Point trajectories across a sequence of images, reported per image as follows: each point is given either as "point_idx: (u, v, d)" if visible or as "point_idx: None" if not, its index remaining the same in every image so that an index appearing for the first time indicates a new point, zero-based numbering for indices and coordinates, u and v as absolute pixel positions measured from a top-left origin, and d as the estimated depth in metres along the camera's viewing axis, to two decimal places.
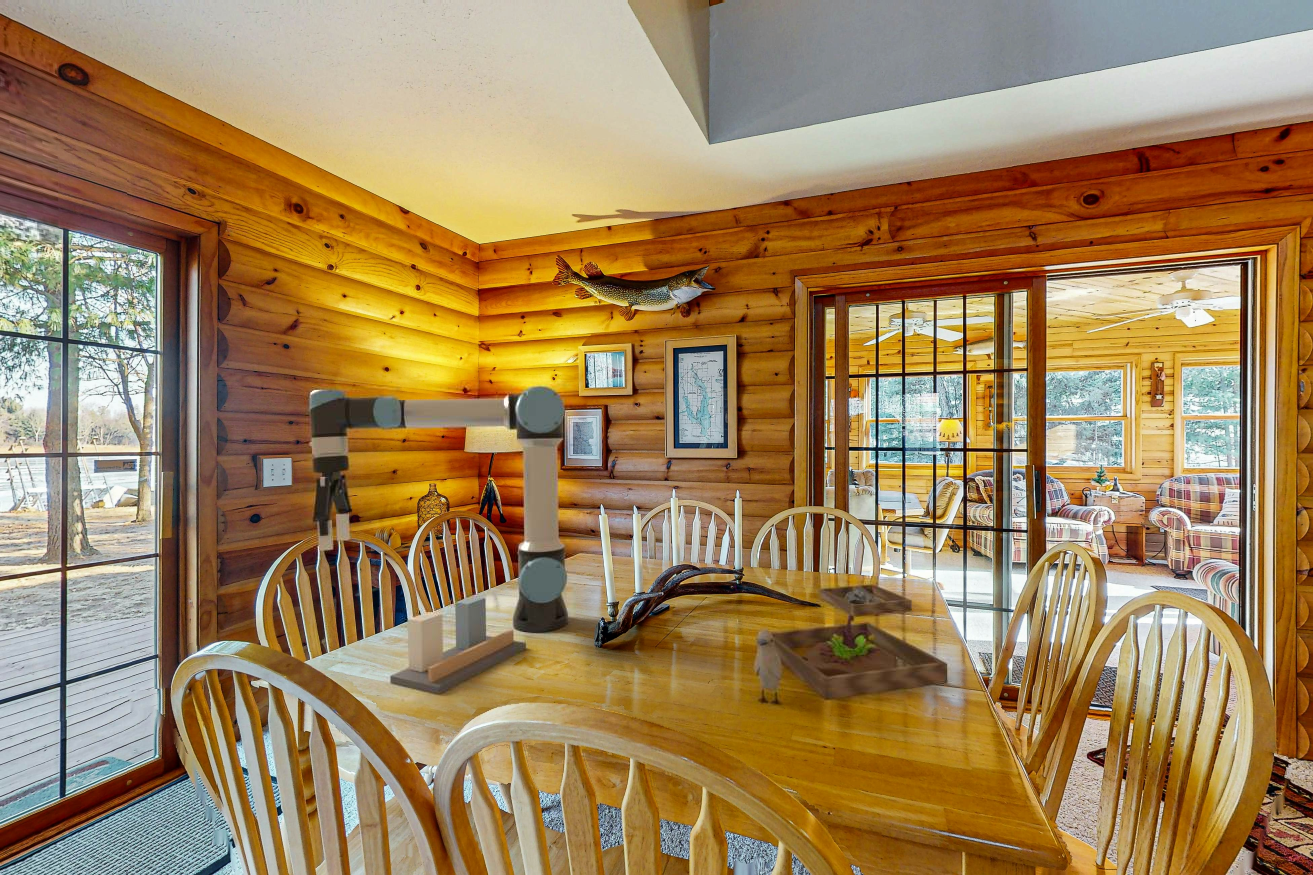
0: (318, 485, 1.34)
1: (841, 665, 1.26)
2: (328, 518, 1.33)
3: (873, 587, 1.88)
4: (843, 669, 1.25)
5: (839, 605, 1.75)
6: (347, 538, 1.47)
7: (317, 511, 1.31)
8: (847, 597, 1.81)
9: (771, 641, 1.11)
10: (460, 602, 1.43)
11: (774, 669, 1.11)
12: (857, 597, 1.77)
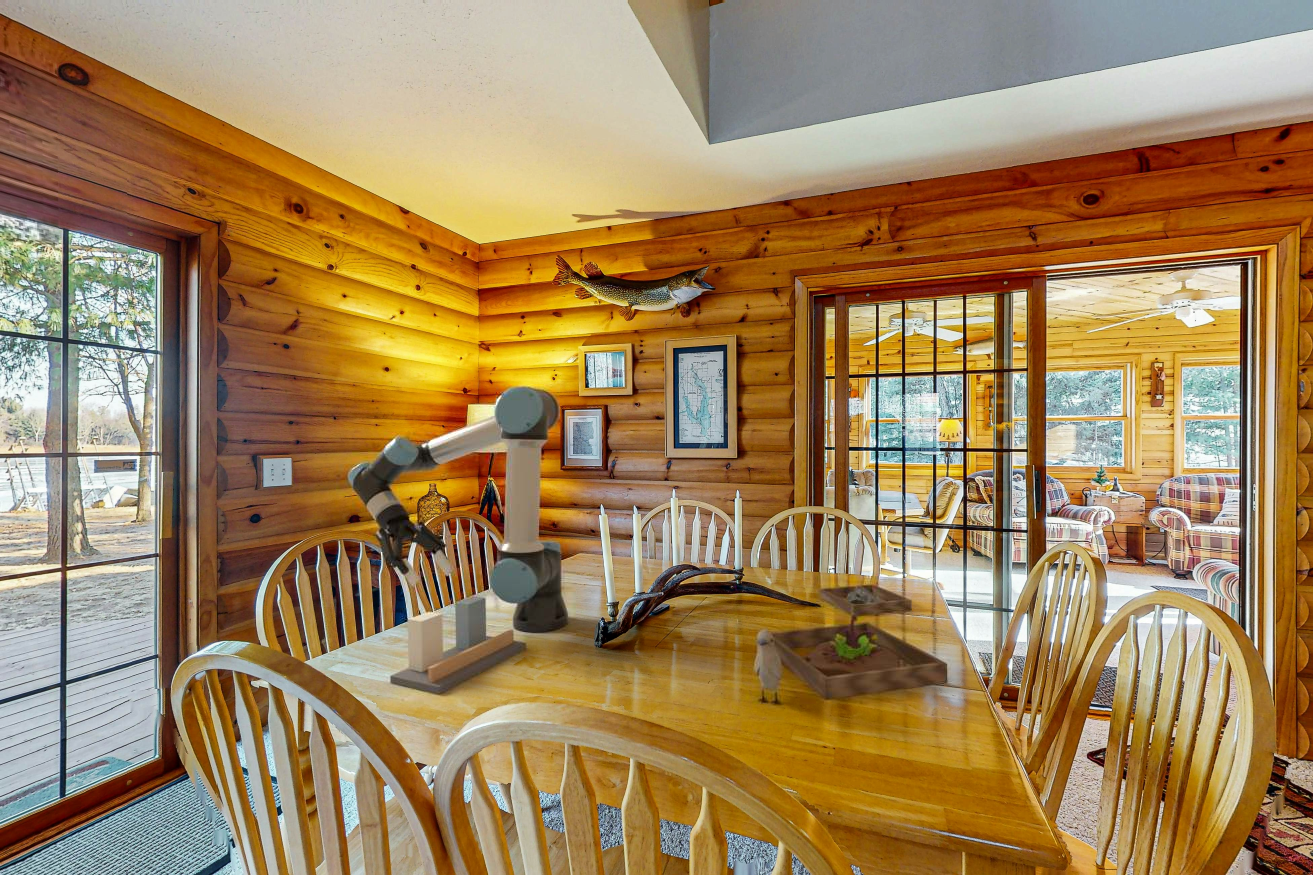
0: (379, 539, 1.48)
1: (845, 665, 1.26)
2: (399, 557, 1.45)
3: (873, 587, 1.88)
4: (847, 669, 1.25)
5: (839, 605, 1.75)
6: (450, 569, 1.54)
7: (385, 557, 1.45)
8: (849, 597, 1.81)
9: (771, 641, 1.11)
10: (460, 602, 1.43)
11: (774, 669, 1.11)
12: (859, 597, 1.77)
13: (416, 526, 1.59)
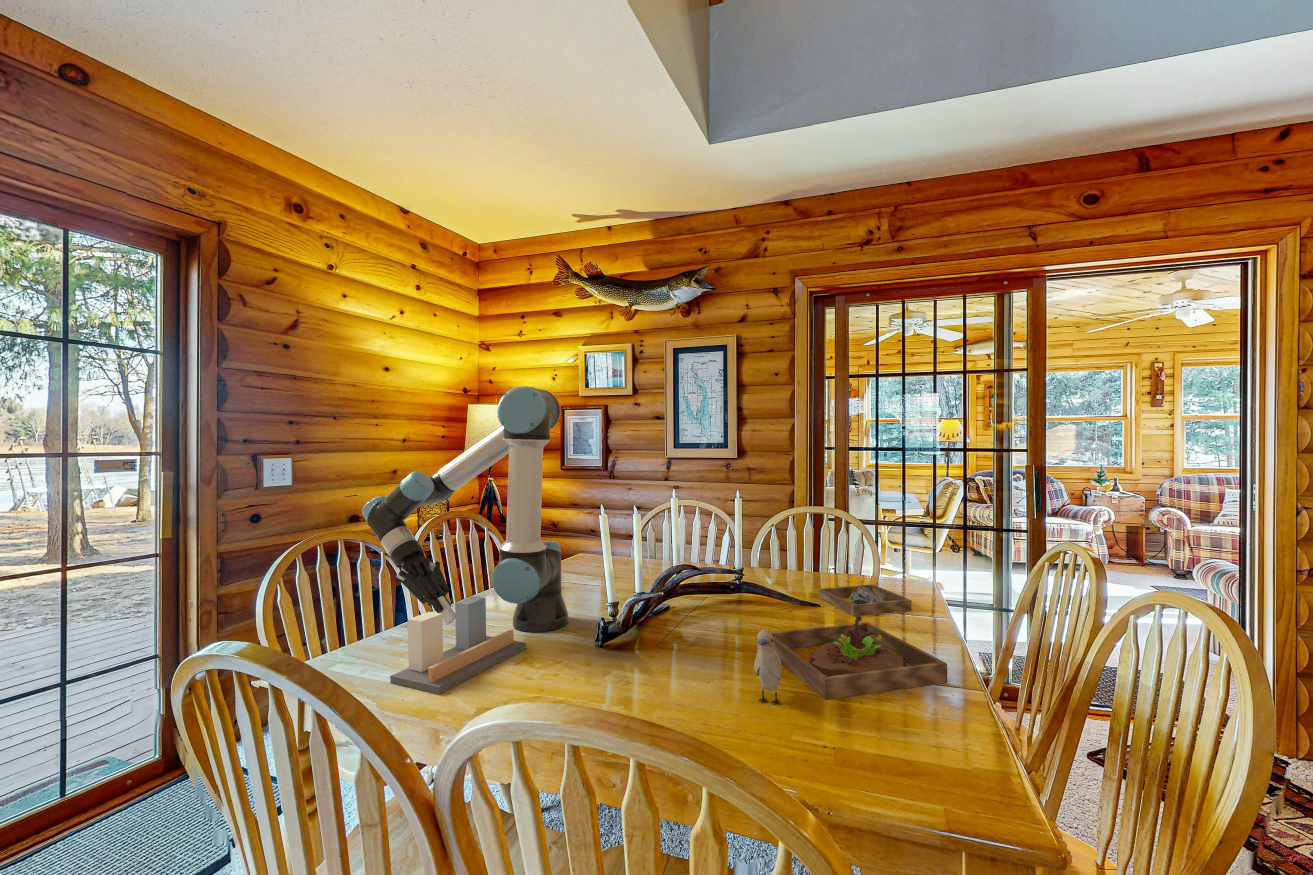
0: (401, 581, 1.47)
1: (848, 665, 1.26)
2: (435, 597, 1.47)
3: (873, 587, 1.88)
4: (851, 669, 1.24)
5: (839, 605, 1.75)
6: None
7: (420, 598, 1.46)
8: (851, 597, 1.81)
9: (771, 641, 1.11)
10: (460, 602, 1.43)
11: (774, 669, 1.11)
12: (861, 597, 1.77)
13: (431, 564, 1.56)
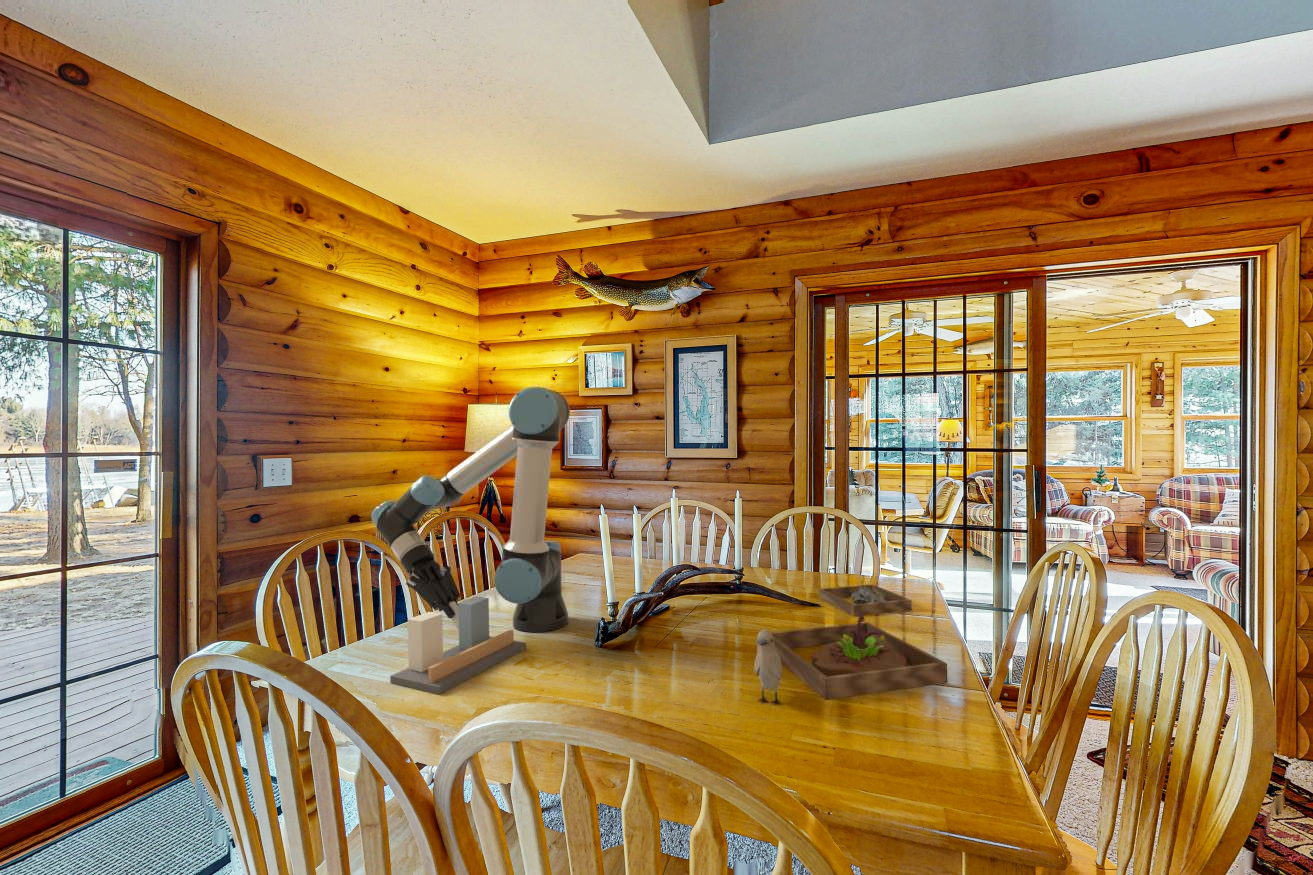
0: (412, 586, 1.45)
1: (851, 666, 1.26)
2: (446, 602, 1.46)
3: (873, 587, 1.88)
4: (854, 669, 1.24)
5: (839, 605, 1.75)
6: None
7: (431, 603, 1.45)
8: (853, 597, 1.81)
9: (771, 641, 1.11)
10: (463, 602, 1.42)
11: (774, 669, 1.11)
12: (862, 597, 1.77)
13: (441, 569, 1.54)
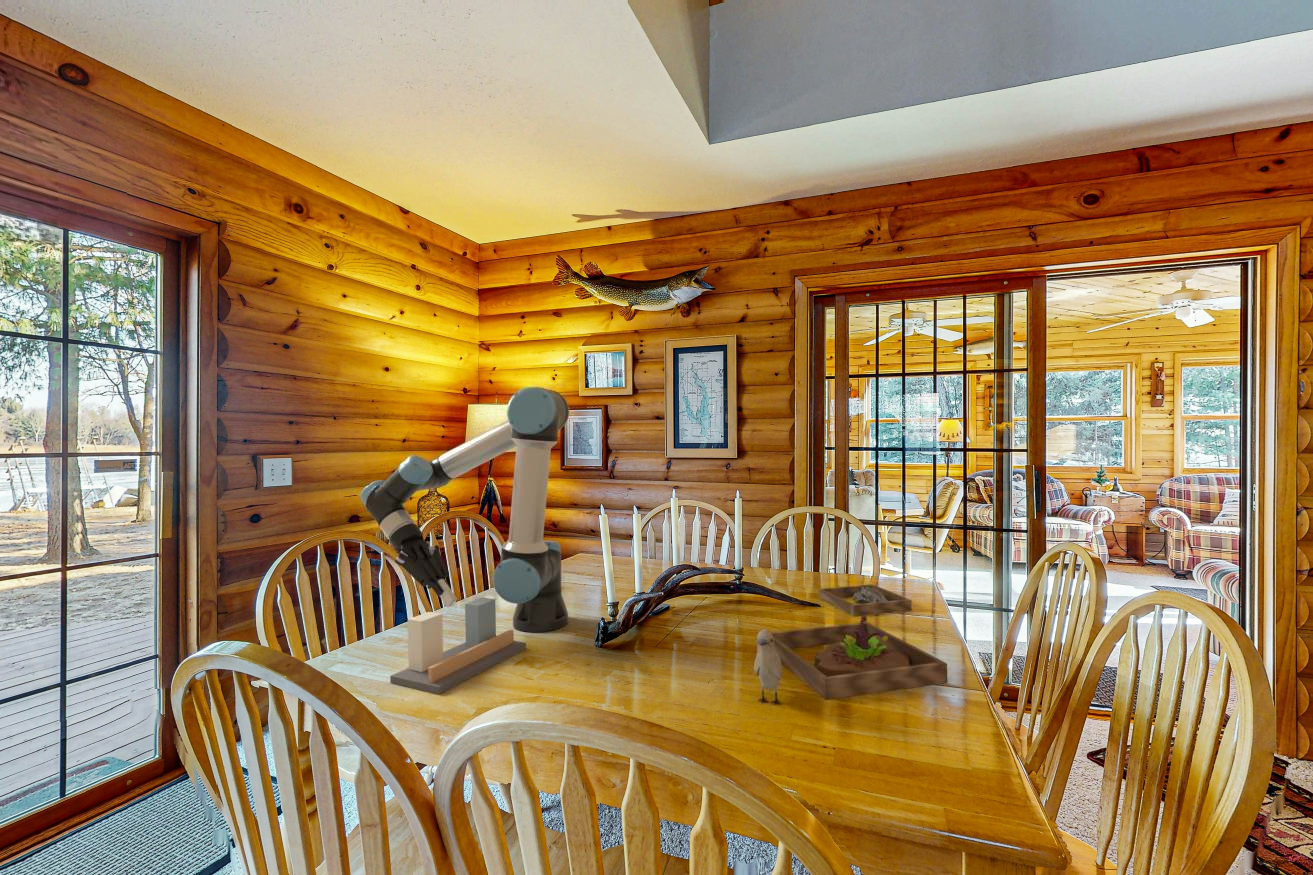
0: (401, 564, 1.46)
1: (855, 666, 1.25)
2: (434, 579, 1.47)
3: (873, 587, 1.88)
4: (858, 670, 1.24)
5: (839, 605, 1.75)
6: None
7: (420, 580, 1.46)
8: (855, 597, 1.81)
9: (771, 641, 1.11)
10: (470, 603, 1.41)
11: (774, 669, 1.11)
12: (864, 597, 1.77)
13: (430, 548, 1.55)
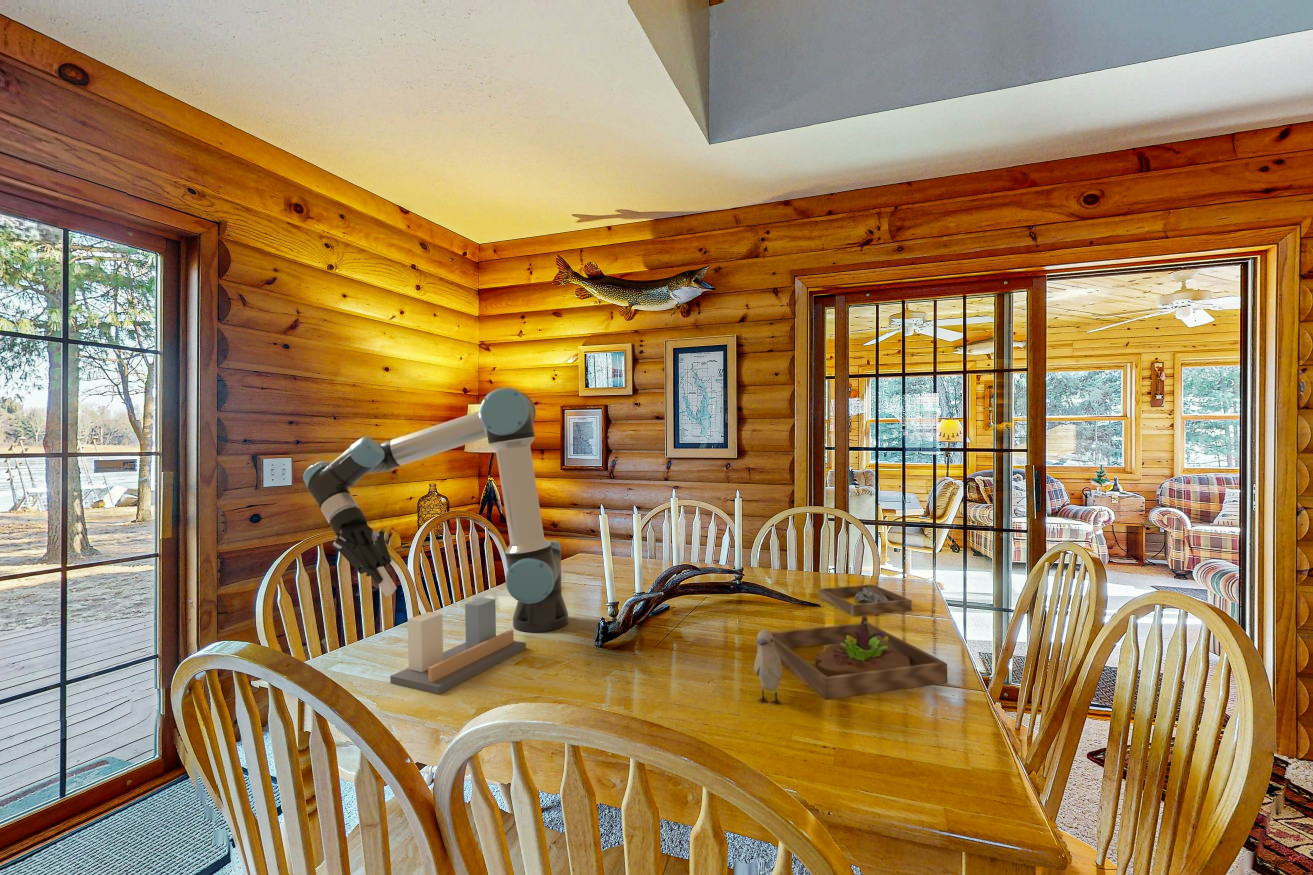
0: (338, 549, 1.38)
1: (856, 667, 1.25)
2: (373, 566, 1.39)
3: (873, 587, 1.88)
4: (858, 671, 1.24)
5: (839, 605, 1.75)
6: None
7: (357, 567, 1.38)
8: (856, 597, 1.81)
9: (771, 641, 1.11)
10: (470, 603, 1.41)
11: (774, 669, 1.11)
12: (866, 597, 1.77)
13: (374, 534, 1.47)
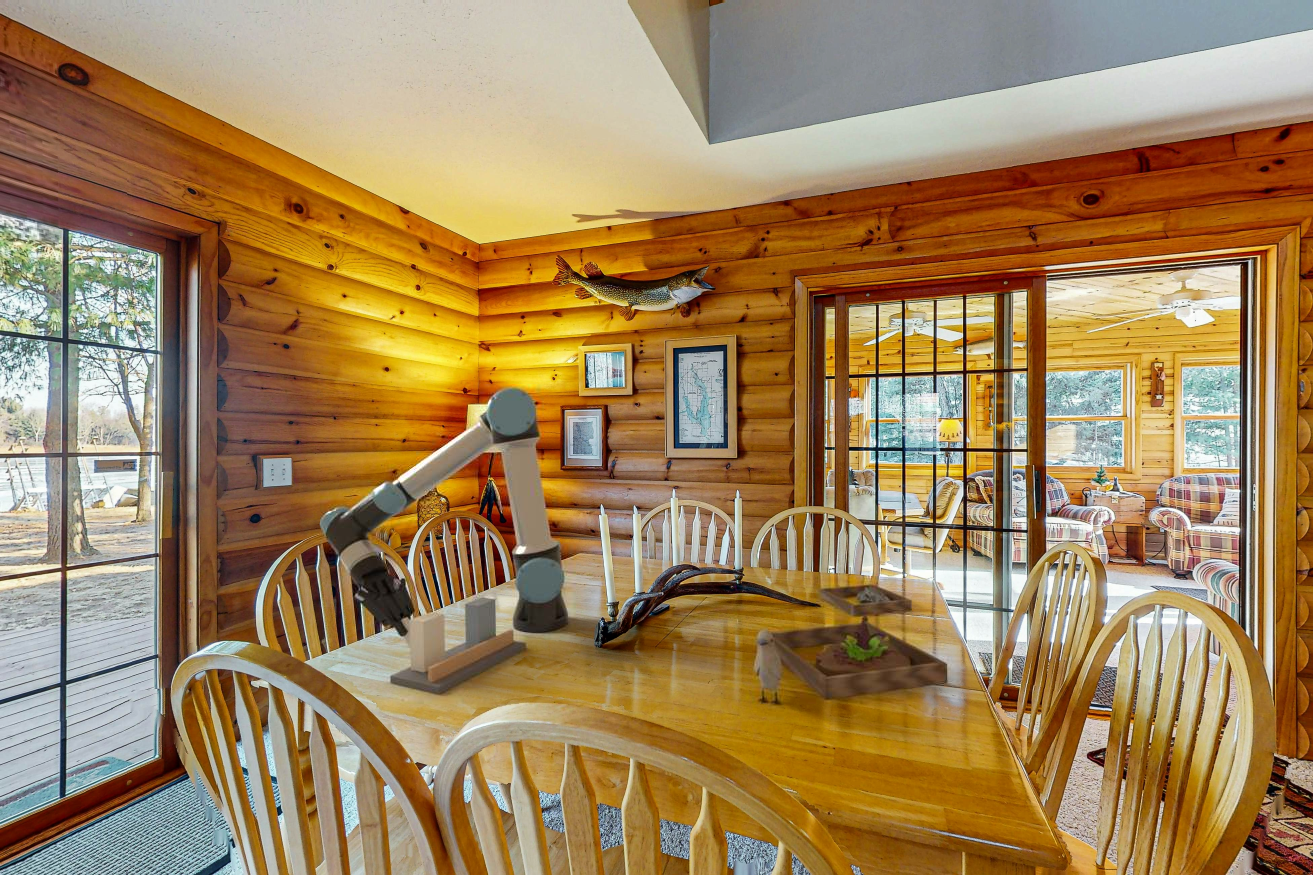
0: (361, 601, 1.33)
1: (856, 667, 1.25)
2: (397, 618, 1.33)
3: None
4: (859, 671, 1.24)
5: (839, 605, 1.75)
6: None
7: (381, 620, 1.32)
8: (858, 597, 1.81)
9: (771, 641, 1.11)
10: (470, 603, 1.41)
11: (774, 669, 1.11)
12: (867, 597, 1.77)
13: (395, 582, 1.42)
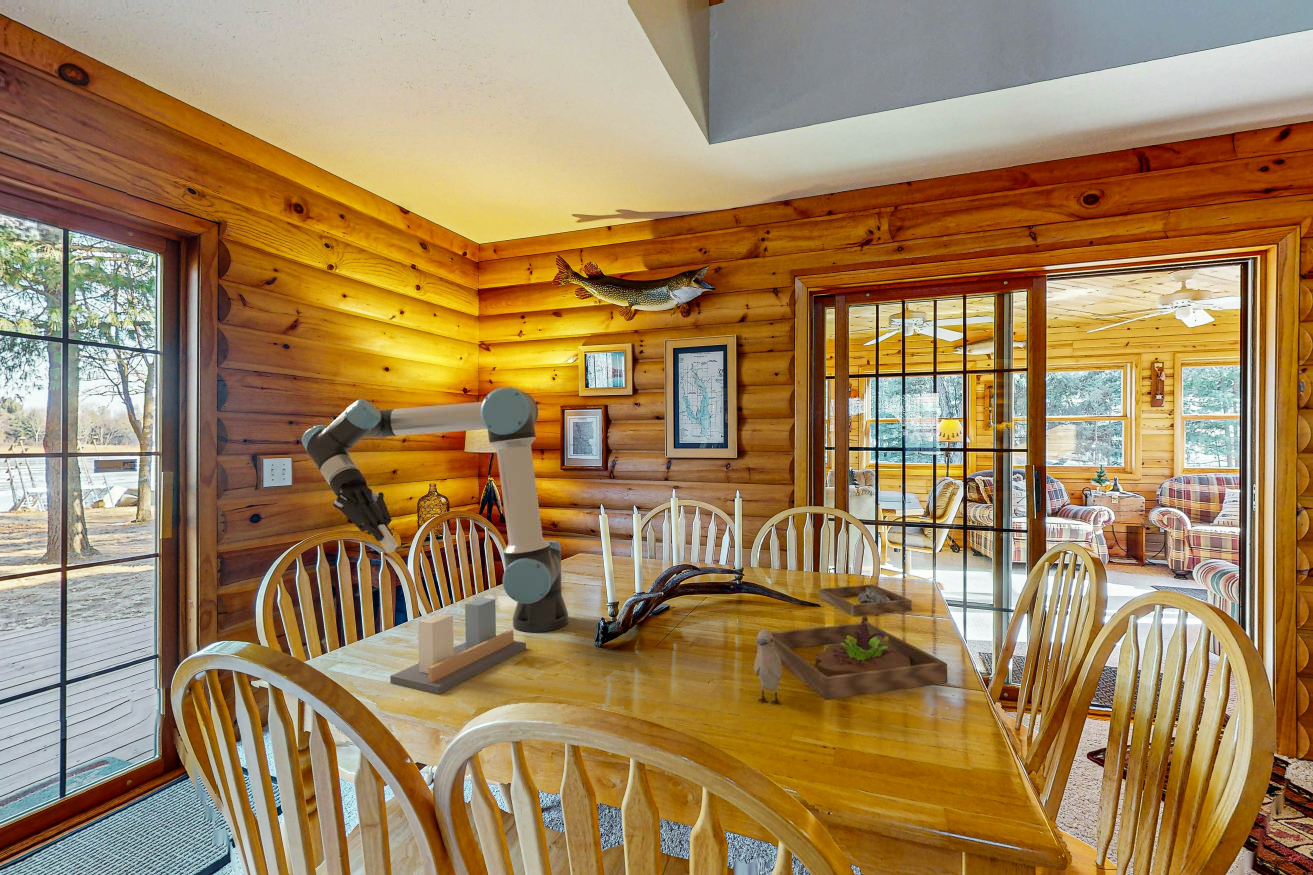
0: (339, 508, 1.40)
1: (856, 667, 1.25)
2: (374, 524, 1.41)
3: None
4: (858, 671, 1.24)
5: (839, 605, 1.75)
6: None
7: (358, 525, 1.40)
8: (859, 597, 1.80)
9: (771, 641, 1.11)
10: (470, 603, 1.41)
11: (774, 669, 1.11)
12: (868, 597, 1.76)
13: (374, 495, 1.49)
